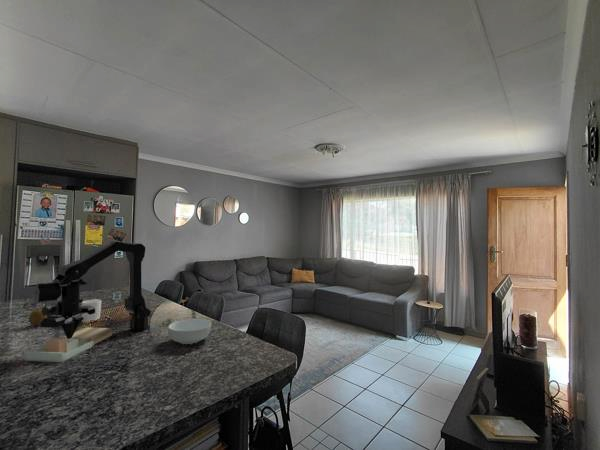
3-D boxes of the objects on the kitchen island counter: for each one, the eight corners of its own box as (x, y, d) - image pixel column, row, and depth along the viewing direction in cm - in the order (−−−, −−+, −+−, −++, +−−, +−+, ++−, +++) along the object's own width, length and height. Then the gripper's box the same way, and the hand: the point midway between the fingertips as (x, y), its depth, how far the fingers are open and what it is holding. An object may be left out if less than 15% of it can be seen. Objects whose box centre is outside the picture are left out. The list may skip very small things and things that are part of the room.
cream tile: (78, 346, 112) (78, 338, 112) (66, 352, 107) (67, 343, 107) (65, 346, 112) (66, 338, 112) (54, 351, 107) (54, 343, 107)
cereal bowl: (219, 337, 124) (219, 321, 125) (189, 352, 109) (190, 333, 109) (190, 331, 132) (190, 315, 132) (158, 344, 116) (158, 326, 117)
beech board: (111, 335, 125) (112, 328, 125) (91, 345, 114) (91, 338, 114) (85, 334, 126) (85, 327, 126) (62, 344, 115) (62, 337, 115)
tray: (93, 346, 114) (93, 338, 114) (61, 362, 100) (62, 353, 100) (59, 344, 115) (60, 336, 115) (24, 360, 101) (24, 351, 101)
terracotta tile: (66, 338, 107) (59, 341, 104) (65, 352, 107) (58, 355, 104) (53, 337, 107) (45, 341, 104) (53, 351, 107) (45, 355, 104)
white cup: (90, 324, 139) (91, 303, 139) (77, 323, 140) (77, 302, 140) (104, 319, 146) (105, 299, 146) (91, 318, 148) (92, 298, 148)
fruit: (25, 327, 134) (26, 309, 134) (41, 323, 139) (42, 306, 140) (33, 329, 131) (33, 311, 131) (49, 324, 137) (50, 308, 137)
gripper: (71, 291, 121) (70, 329, 121) (26, 303, 102) (25, 347, 102) (96, 292, 120) (95, 330, 120) (56, 304, 101) (54, 348, 101)
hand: (69, 338), depth 111 cm, fingers closed
